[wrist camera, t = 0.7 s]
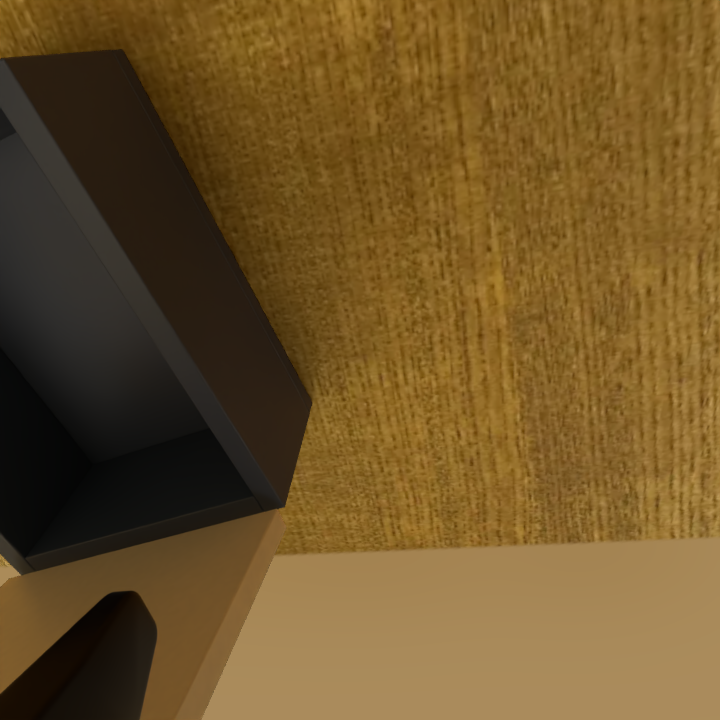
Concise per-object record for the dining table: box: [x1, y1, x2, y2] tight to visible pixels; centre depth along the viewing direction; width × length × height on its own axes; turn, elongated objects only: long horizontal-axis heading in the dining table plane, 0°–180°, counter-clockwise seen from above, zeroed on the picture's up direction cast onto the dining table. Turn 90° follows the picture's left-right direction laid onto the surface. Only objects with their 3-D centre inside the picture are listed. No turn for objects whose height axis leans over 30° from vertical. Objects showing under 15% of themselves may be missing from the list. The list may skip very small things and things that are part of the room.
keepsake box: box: [0, 49, 312, 575], centre depth 20 cm, size 15×12×6 cm
